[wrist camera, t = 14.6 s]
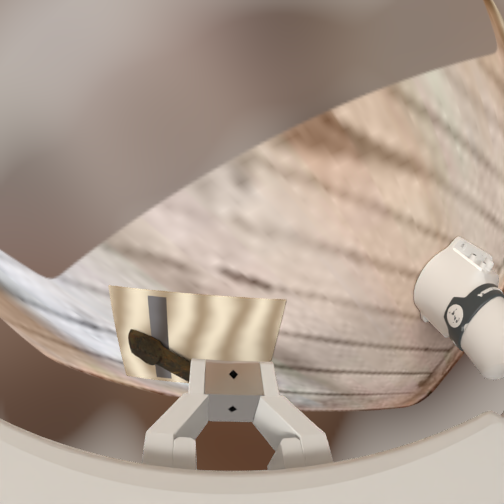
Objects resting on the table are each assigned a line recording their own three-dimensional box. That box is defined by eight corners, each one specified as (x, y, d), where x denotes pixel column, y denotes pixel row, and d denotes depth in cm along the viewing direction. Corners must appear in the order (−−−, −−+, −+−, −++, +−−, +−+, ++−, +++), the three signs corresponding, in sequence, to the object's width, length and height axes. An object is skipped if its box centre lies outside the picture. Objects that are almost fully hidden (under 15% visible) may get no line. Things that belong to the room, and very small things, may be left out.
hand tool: (222, 373, 52) (222, 392, 47) (208, 382, 53) (208, 400, 48) (139, 318, 44) (133, 337, 40) (127, 330, 45) (121, 349, 41)
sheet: (285, 296, 46) (286, 300, 45) (263, 382, 55) (264, 386, 54) (110, 282, 42) (108, 285, 41) (127, 372, 51) (126, 375, 51)
